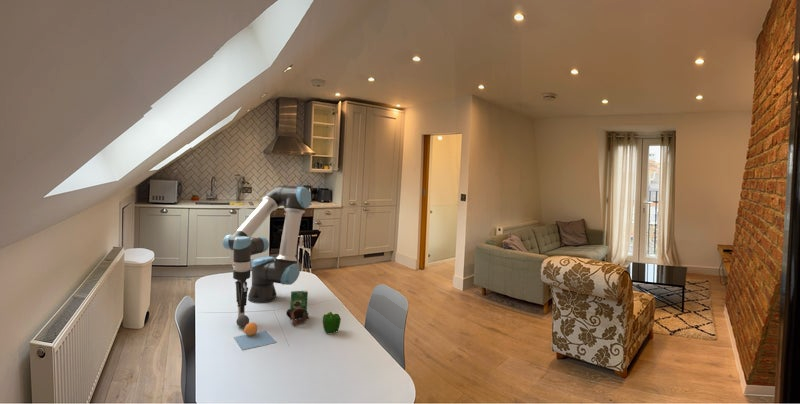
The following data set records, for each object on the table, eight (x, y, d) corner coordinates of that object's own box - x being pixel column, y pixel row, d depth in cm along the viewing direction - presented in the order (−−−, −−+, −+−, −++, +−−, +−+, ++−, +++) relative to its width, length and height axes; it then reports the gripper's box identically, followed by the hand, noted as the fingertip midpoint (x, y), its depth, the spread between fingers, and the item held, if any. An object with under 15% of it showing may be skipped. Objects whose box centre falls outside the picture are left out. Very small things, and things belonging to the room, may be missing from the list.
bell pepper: (331, 326, 190) (332, 306, 189) (343, 331, 184) (344, 310, 184) (317, 331, 183) (318, 310, 182) (329, 337, 178) (330, 315, 177)
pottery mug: (311, 320, 197) (312, 309, 193) (302, 335, 190) (303, 324, 185) (290, 311, 199) (290, 300, 194) (279, 326, 191) (280, 315, 187)
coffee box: (305, 314, 203) (306, 289, 201) (307, 317, 200) (307, 291, 199) (289, 316, 199) (290, 291, 198) (290, 318, 197) (291, 292, 195)
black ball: (249, 314, 183) (250, 326, 183) (247, 313, 188) (248, 324, 187) (236, 317, 180) (238, 329, 180) (235, 315, 185) (236, 327, 185)
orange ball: (256, 319, 178) (259, 327, 174) (254, 328, 180) (258, 336, 176) (243, 321, 175) (246, 329, 171) (242, 331, 177) (245, 339, 173)
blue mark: (265, 330, 181) (265, 330, 181) (276, 342, 170) (276, 342, 170) (233, 337, 173) (233, 337, 173) (242, 350, 162) (242, 349, 162)
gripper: (230, 267, 190) (229, 315, 192) (237, 274, 179) (236, 325, 181) (246, 265, 194) (245, 312, 196) (254, 272, 184) (253, 321, 186)
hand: (241, 318), depth 189 cm, fingers closed
